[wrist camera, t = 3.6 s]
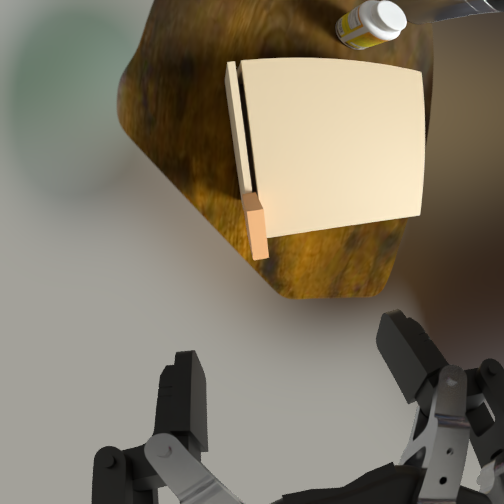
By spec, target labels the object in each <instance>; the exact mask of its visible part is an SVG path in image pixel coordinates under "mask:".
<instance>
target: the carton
mask: <svg viewBox="0 0 504 504" xmlns="http://www.w3.org/2000/svg"><path fill="white" fill-rule="evenodd" d="M236 73H237V80H238V87H239V95H240V102H241V110H242V117H243V125H244V132H245V140H246V148H247V155H248V163H249V171H250V179H251V187H252V193H254V192H256V194H257V196H258V198H259V200H260V202H261V205H262V207H263V209H264V217H265V226H266V236H267V238H270V237H276V236H282V235H289V234H295V233H302V232H308V231H315V230H322V229H328V228H335V227H342V226H348V225H355V224H362V223H369V222H376V221H383V220H390V219H397V218H404V217H411V216H418V215H420V210H421V202H422V191H423V179H424V161H425V160H424V159H425V113H424V95H423V83H422V74H421V72H419V71H415V70H410V69H405V68H400V67H395V66H390V65H384V64H377V63H370V62H362V61H353V60H342V59H328V58H268V59H253V60H242V61H241V62H240V65H239V67H238V70H237V72H236Z"/></svg>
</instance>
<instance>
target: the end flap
mask: <svg viewBox="0 0 504 504" xmlns="http://www.w3.org/2000/svg"><path fill="white" fill-rule="evenodd" d="M225 87H226V94H227V102H228V109H229V116H230V123H231V130H232V138H233V145H234V152H235V159H236V166H237V173H238V180H239V187H240V194H241V201H242V205H243V209H244V213H245V220H246V227H247V235H248V239H249V244H250V248H251V252H252V256H253V260H258V259H264V258H269V255H268V245H267V236H266V226H265V217H264V209H263V207H262V205H261V202H260V200H259V198H258V196H257V194H256V192H254V193H252V187H251V179H250V171H249V163H248V155H247V148H246V140H245V132H244V125H243V117H242V110H241V102H240V95H239V87H238V80H237V73H236V65H235V61H232V62H227V68H226V75H225Z"/></svg>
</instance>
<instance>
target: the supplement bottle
mask: <svg viewBox="0 0 504 504" xmlns="http://www.w3.org/2000/svg"><path fill="white" fill-rule="evenodd" d="M406 23H407V21H406V17H405V14H404V13H403V11H402V10H401V9H400V8H399V7H398V6H397V5H396V4H394V3H393V2H390V1H386V0H384V1H380V2H379V1H374V0H370V1H366V2H364V3H362V4H361V5H359V6H358V7H356V8H354V9H353V10H351V11H350V12H348V13H347V14H345V15H344V16H342V17H341V18H340V19H339V20H338V21H337V23H336V27H335V28H336V33H337V35H338V37H339V39H340V40H341V41H342V42H343V43H344V44H345V45H347V46H348V47H350V48H353V49H365V48H368V47H371V46H374V45H377V44H380V43H383V42H386V41H389V40H393V39H395V38H396V37H398V35H399V34H400V31H401V30H402V29H404V28H405V27H406Z"/></svg>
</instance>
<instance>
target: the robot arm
mask: <svg viewBox="0 0 504 504" xmlns="http://www.w3.org/2000/svg"><path fill="white" fill-rule="evenodd" d="M388 1H390V2H393V3H394V4H396V5H397V6H398V7H399V8H400V9H401V10H402V11H403V13H404V14H405V17H406V20H408V21H409V22H411V23H414V24H424V23H428V22H430V23H432V22H436V21H441V20H446V19H451V18H457V17H464V16H468V15H471V14H481V13H490V12H504V0H388ZM376 343H377V347H378V350H379V351H380V353H381V355H382V357H383V358H384V360H385V362H386V363H387V366H388V367H389V369H390V371H391V373H392V374H393V376H394V378H395V380H396V382H397V384H398V386H399V388H400V389H401V391H402V393H403V395H404V397H405V399H406V401H407V403H408V404H410V403H412V402H415V401H417V402H418V404H419V405H418V406H417V410H416V414H415V419H414V423H413V427H412V431H411V435H410V439H409V442H408V445H407V447H406V449H405V450H404V452H403V454H402V456H401V459H400V462H399V465H395V466H394V464H393V462H391V463H389V464H387V465H384V466H382V467H380V468H377V469H374V470H372V471H369V472H367V473H366V474H364V475H363V476H361V477H359V478H358V479H356V480H355V481H353V482H351V483H349V484H347V485H346V486H344V487H340V488H328V489H310V490H306V491H301V492H296V493H291V494H286V495H282V497H283V498H282V499H280V500H277V501H275V502H273V503H271V504H504V369H503V367H502V366H501V364H500V363H499V362H497V361H496V360H494V359H486V360H484V361H483V362H482V364H481V365H480V367H479V368H474V369H469V370H463V369H462V368H460V367H459V366H456V365H449V364H448V362H447V361H446V360H445V358H444V357H443V355H442V354H441V352H440V351H439V350H438V348H437V347H436V345H435V344H434V343H433V341H432V340H430V337H429V336H428V334H426V333H425V330H424V329H423V328H422V326H421V325H420V324H419V323H418V322H416V321H415V320H413V319H412V318H406V316H405V315H404V314H403V312H402V311H401V310H399V309H397V310H393V311H390V312H387V313H384V314H383V315H382V317H381V321H380V325H379V329H378V333H377V337H376ZM485 399H486V400H487V402H488V404H489V406H490V408H491V410H492V412H493V414H494V416H495V422H494V421H493V419H492V417H491V415H490V413H489V411H488V409H487V407H486V405H485V403H484V400H485ZM206 405H207V403H206V378H205V374H204V371H203V368H202V366H201V364H200V361H199V359H198V357H197V354H196V352H195V350H191V351H181V352H176V355H175V363H174V365H167V366H166V367H165V369H164V370H163V372H162V374H161V375H160V381H159V389H158V398H157V406H156V416H155V427H154V433H153V435H152V437H151V438H150V439H149V440H148V441H147V442H146V443H145V444H143V445H141V446H138V447H134V448H130V449H126V450H122V451H121V450H119V449H118V448H116V447H112V446H106V447H103V448H101V449H100V450H99V451H98V452H97V453H96V455H95V458H94V466H93V481H92V504H158V488H159V487H164V486H168V487H169V488H170V489H171V491H172V492H173V493H174V494H175V495H176V496H177V498H178V499H179V501H180V504H245V503H244V502H243V501H242V500H241V499H239V498H238V497H237V496H236V495H235V494H233V493H232V492H231V491H230V490H229V489H228V488H227V487H226V486H224V485H223V484H222V483H221V482H220V481H219V480H218V479H217V478H216V477H215V476H214V475H213V474H212V473H211V472H210V471H209V470H208V469H207V468H206V467H205V466H204V465H203V464H202V463H201V452H208V437H207V436H208V435H207V406H206ZM469 439H470V441H471V444H472V446H473V449H474V451H475V453H476V456H477V458H478V461H479V464H480V466H481V469H482V470H481V472H480V475H479V476H478V478H477V484H478V485H480V491H479V492H478V491H475V490H472V489H469V488H467V487H464V486H461V485H460V482H461V479H462V475H463V470H464V466H465V461H466V455H467V449H468V443H469Z"/></svg>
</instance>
